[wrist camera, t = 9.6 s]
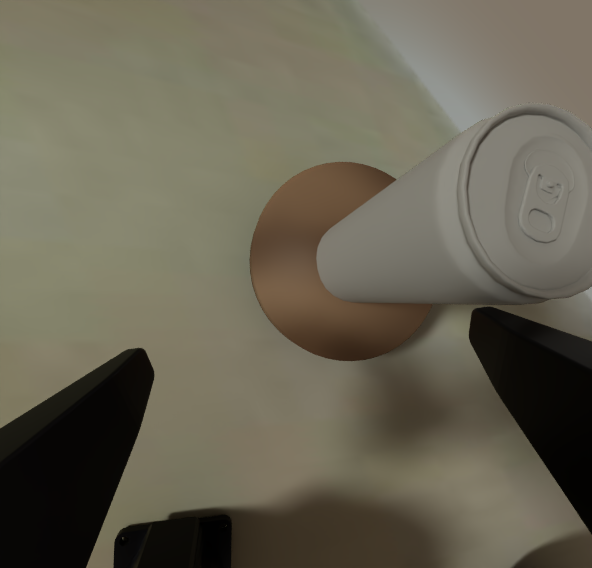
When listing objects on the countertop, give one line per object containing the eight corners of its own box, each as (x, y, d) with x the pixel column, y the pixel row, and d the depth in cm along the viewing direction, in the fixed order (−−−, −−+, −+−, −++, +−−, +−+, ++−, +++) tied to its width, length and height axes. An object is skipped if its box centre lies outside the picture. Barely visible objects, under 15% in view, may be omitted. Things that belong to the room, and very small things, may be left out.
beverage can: (397, 239, 20) (646, 147, 8) (375, 313, 19) (609, 333, 7) (326, 211, 19) (488, 59, 7) (302, 287, 18) (432, 262, 6)
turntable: (427, 354, 21) (442, 358, 20) (247, 359, 19) (249, 364, 17) (424, 180, 22) (438, 171, 20) (251, 163, 19) (253, 151, 18)
